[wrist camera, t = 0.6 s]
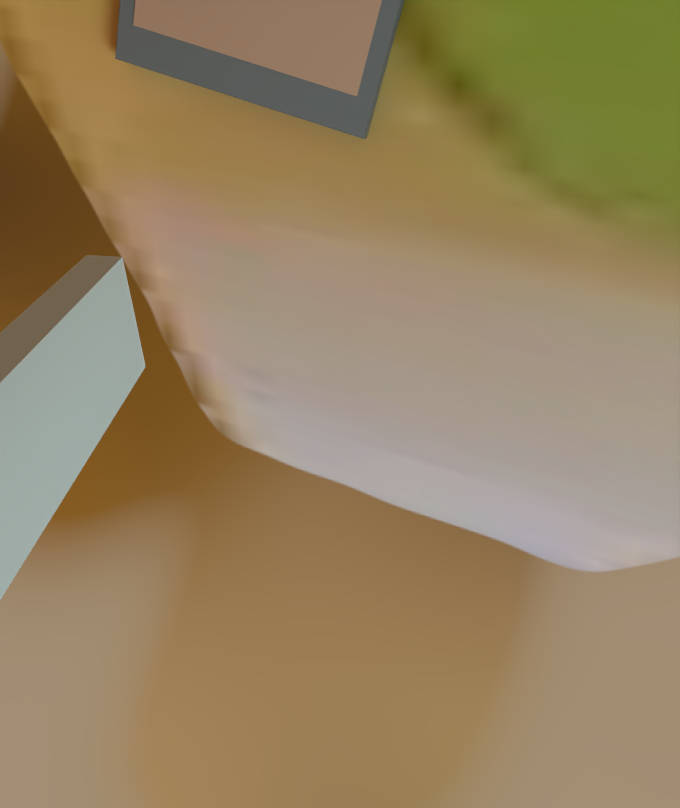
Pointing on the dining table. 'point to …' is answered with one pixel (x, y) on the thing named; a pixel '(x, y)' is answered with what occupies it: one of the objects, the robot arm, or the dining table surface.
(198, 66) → the tray
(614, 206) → the dining table surface
